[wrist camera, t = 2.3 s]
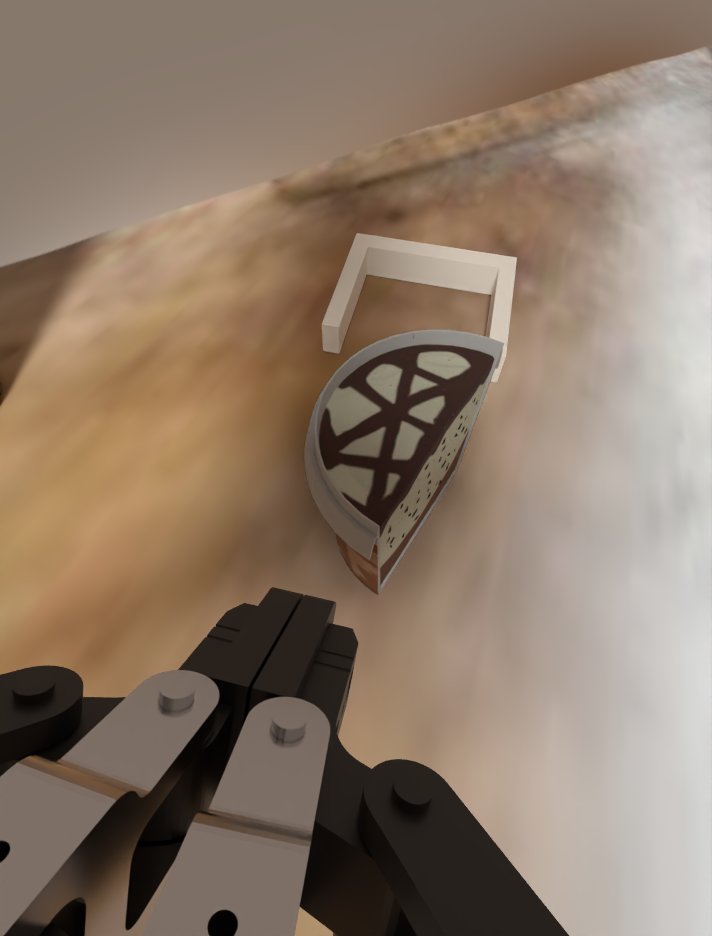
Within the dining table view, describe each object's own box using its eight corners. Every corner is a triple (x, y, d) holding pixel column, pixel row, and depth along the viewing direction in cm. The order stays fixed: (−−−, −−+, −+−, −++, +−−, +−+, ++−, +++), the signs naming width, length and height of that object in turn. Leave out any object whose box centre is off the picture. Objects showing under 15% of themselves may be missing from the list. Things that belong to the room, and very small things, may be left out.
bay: (323, 351, 38) (321, 324, 35) (356, 260, 43) (356, 232, 41) (496, 382, 36) (505, 356, 34) (508, 285, 42) (516, 257, 40)
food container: (384, 412, 35) (396, 287, 26) (467, 454, 33) (509, 336, 25) (269, 558, 29) (238, 460, 21) (363, 618, 27) (370, 538, 19)
